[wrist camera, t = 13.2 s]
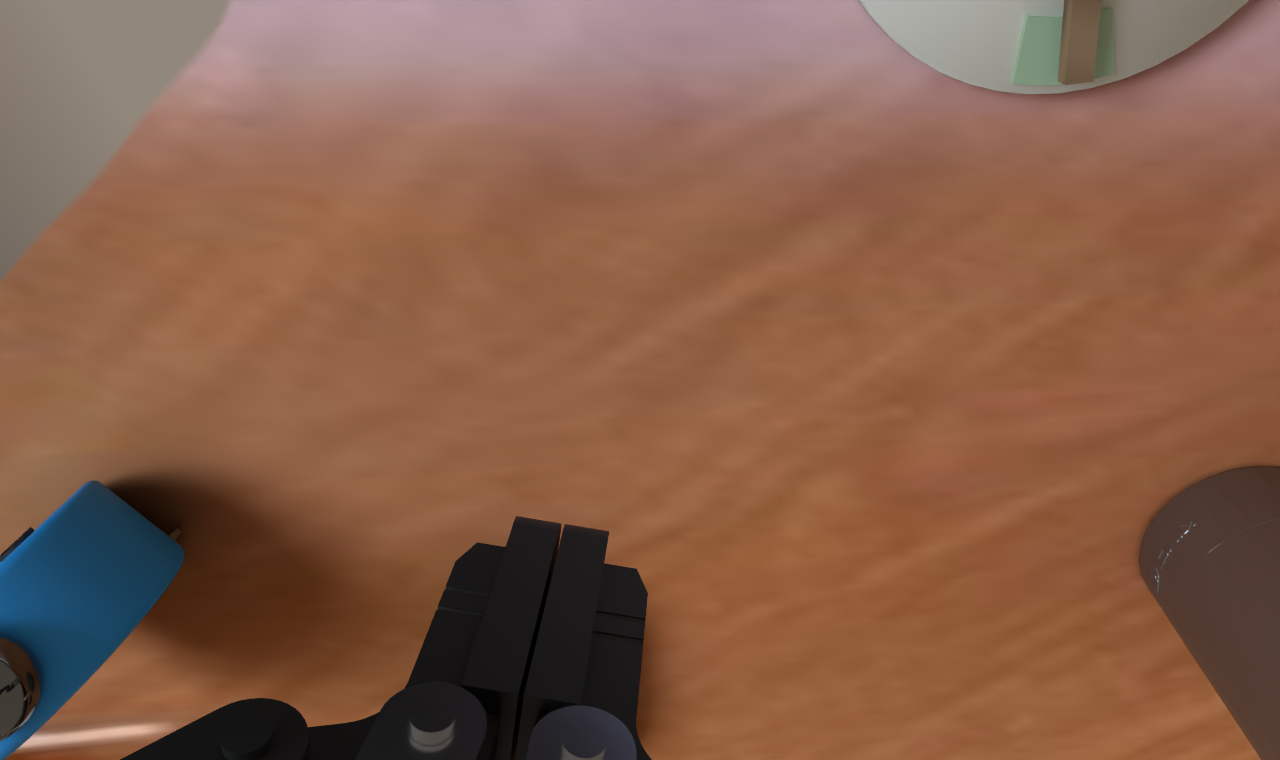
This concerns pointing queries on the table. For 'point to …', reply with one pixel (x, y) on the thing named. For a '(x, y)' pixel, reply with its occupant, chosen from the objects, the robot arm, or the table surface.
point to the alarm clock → (73, 602)
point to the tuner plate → (1042, 37)
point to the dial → (1079, 41)
